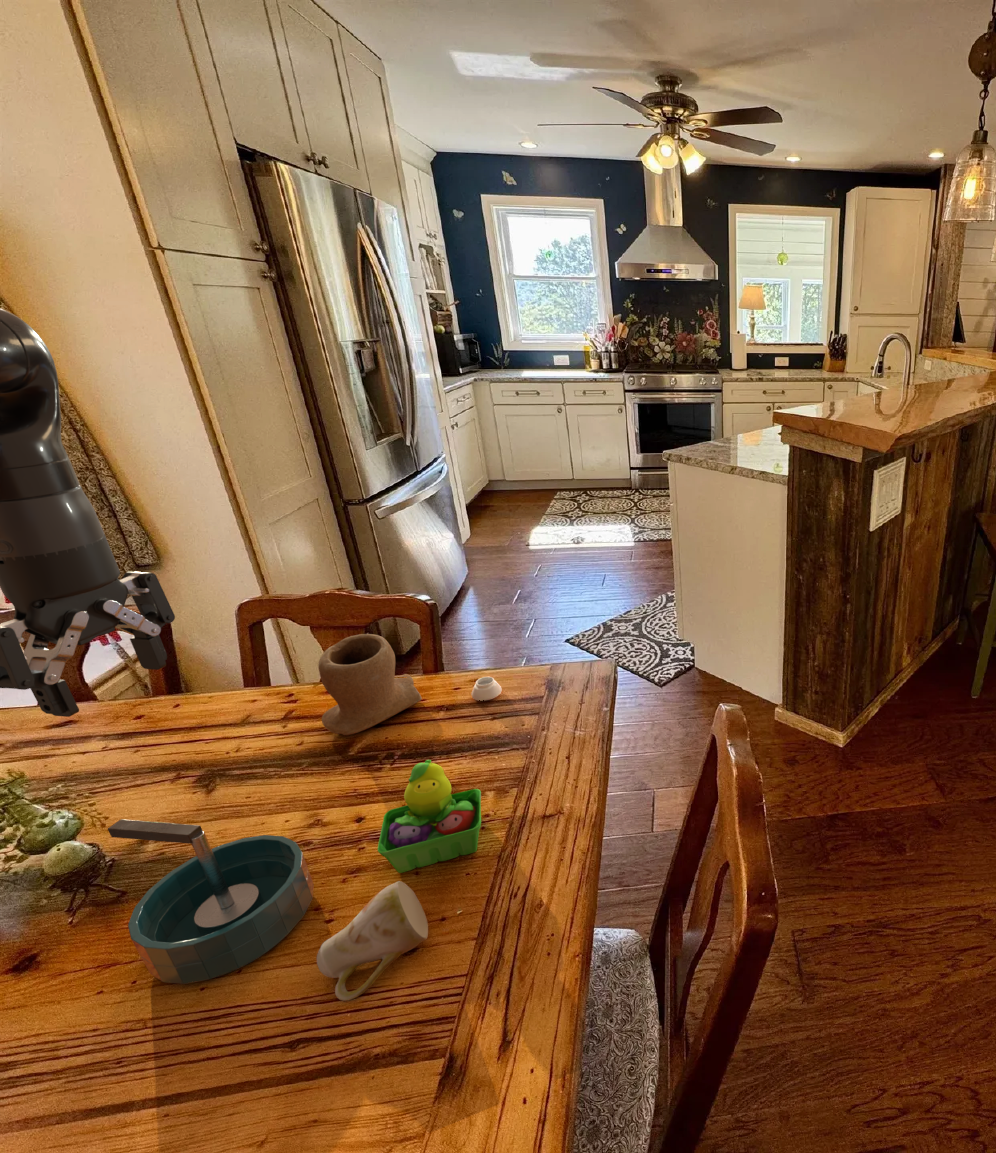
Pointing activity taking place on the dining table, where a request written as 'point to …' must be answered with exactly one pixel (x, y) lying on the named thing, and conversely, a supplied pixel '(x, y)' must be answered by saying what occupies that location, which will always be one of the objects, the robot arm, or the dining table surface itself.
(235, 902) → the rod with disc base
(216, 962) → the bowl
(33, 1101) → the dining table surface
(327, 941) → the mug
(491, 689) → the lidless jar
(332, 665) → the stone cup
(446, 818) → the fruit basket
